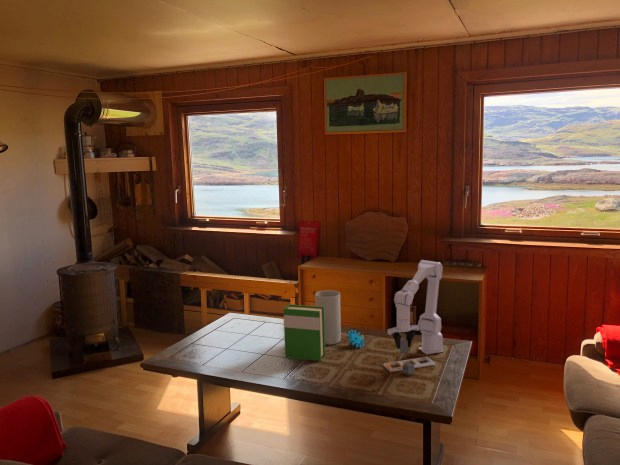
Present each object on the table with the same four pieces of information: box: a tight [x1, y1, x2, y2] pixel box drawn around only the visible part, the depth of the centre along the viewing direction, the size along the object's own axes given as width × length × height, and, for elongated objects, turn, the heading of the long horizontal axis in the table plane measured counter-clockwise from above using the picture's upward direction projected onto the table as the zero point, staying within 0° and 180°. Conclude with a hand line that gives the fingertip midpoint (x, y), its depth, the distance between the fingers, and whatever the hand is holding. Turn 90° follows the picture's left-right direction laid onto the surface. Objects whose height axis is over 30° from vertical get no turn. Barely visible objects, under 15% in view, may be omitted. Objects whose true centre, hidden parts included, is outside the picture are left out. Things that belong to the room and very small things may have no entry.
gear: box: [346, 329, 365, 349], centre depth 256 cm, size 11×6×10 cm
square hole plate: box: [383, 356, 436, 373], centre depth 230 cm, size 22×7×1 cm, turn 107°
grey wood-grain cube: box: [402, 362, 415, 376], centre depth 222 cm, size 4×4×4 cm
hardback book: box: [283, 304, 326, 362], centre depth 243 cm, size 18×7×24 cm, turn 71°
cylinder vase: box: [314, 289, 342, 346], centre depth 262 cm, size 12×12×25 cm
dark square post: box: [398, 337, 409, 354], centre depth 228 cm, size 4×4×6 cm
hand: (403, 347), depth 228 cm, fingers closed on dark square post, 4 cm apart
